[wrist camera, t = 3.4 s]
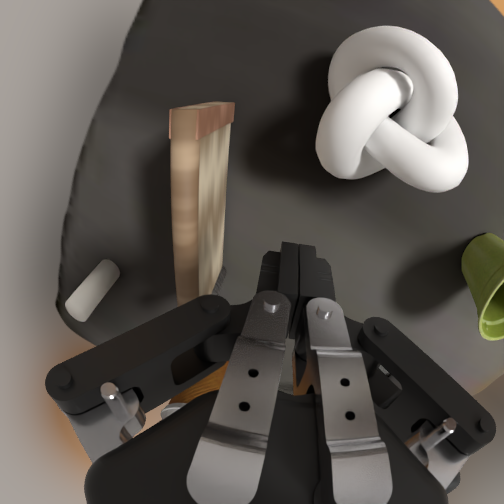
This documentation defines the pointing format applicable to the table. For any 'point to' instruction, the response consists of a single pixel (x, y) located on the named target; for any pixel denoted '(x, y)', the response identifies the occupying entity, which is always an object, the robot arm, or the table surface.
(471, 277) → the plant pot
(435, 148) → the white decorative knot
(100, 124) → the table surface
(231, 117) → the brown flat block
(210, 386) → the disposable coffee cup
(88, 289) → the post
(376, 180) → the table surface
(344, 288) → the table surface
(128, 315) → the table surface
